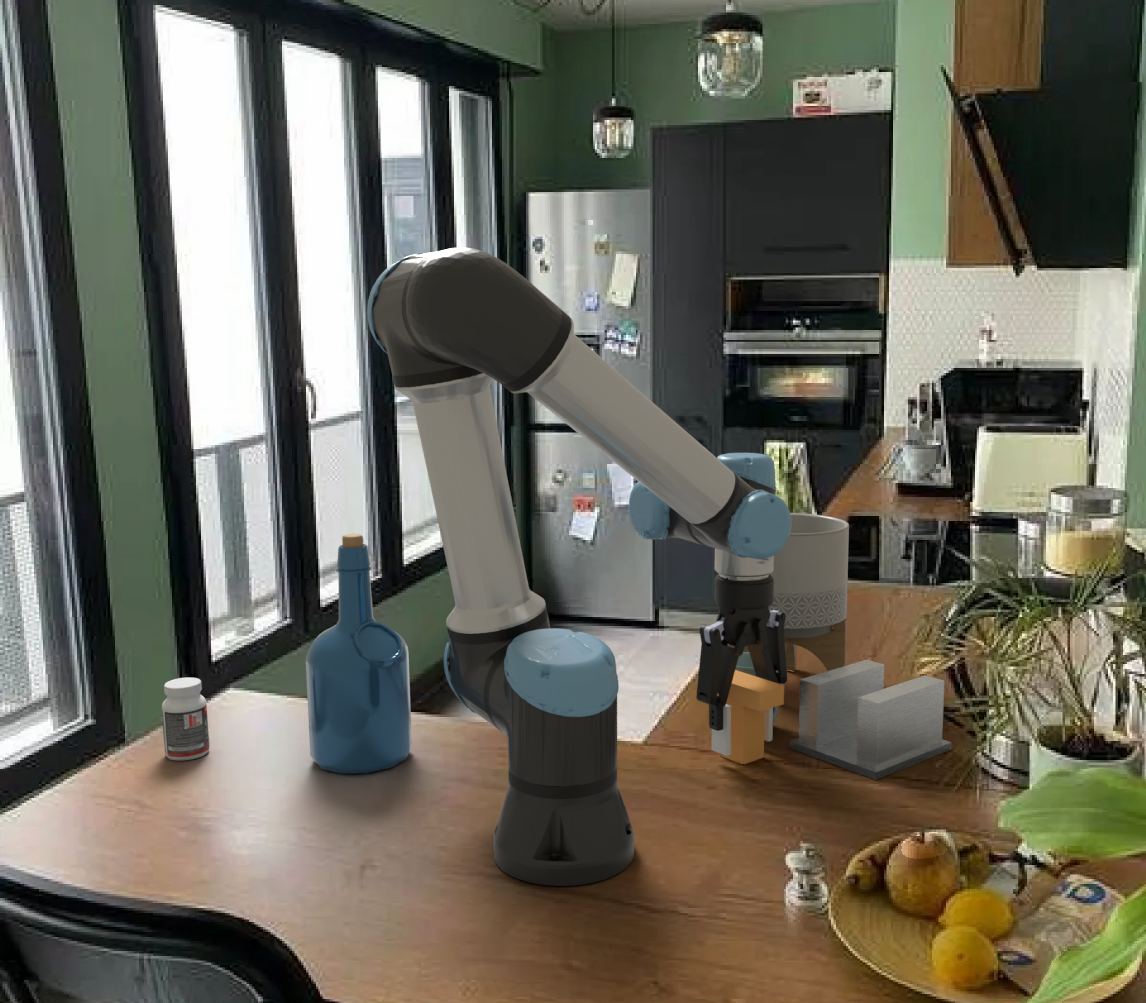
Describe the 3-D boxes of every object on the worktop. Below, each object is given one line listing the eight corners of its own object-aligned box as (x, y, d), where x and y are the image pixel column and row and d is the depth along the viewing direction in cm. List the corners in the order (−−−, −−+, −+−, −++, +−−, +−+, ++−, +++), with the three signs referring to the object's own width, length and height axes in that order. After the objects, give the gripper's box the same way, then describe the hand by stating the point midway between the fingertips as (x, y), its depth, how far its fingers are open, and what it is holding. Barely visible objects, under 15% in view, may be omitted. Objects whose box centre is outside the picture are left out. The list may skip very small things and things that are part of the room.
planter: (838, 710, 166) (842, 536, 162) (711, 698, 172) (712, 530, 168) (850, 673, 184) (854, 515, 180) (734, 663, 190) (736, 510, 186)
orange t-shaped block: (758, 772, 144) (759, 692, 142) (702, 749, 151) (703, 674, 150) (782, 763, 146) (784, 685, 145) (726, 742, 154) (727, 667, 153)
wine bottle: (290, 760, 150) (278, 536, 145) (371, 733, 159) (363, 522, 155) (352, 787, 140) (342, 549, 136) (435, 757, 150) (427, 534, 145)
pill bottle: (217, 753, 152) (213, 682, 151) (178, 765, 148) (173, 692, 147) (196, 743, 156) (191, 673, 155) (157, 754, 152) (152, 683, 151)
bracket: (875, 780, 141) (878, 706, 139) (789, 748, 152) (790, 679, 150) (951, 749, 151) (953, 680, 149) (864, 721, 161) (866, 657, 160)
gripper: (709, 591, 136) (707, 772, 140) (818, 567, 148) (815, 735, 152) (666, 580, 142) (666, 755, 145) (775, 559, 154) (772, 720, 158)
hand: (742, 744), depth 149 cm, fingers open, 7 cm apart
